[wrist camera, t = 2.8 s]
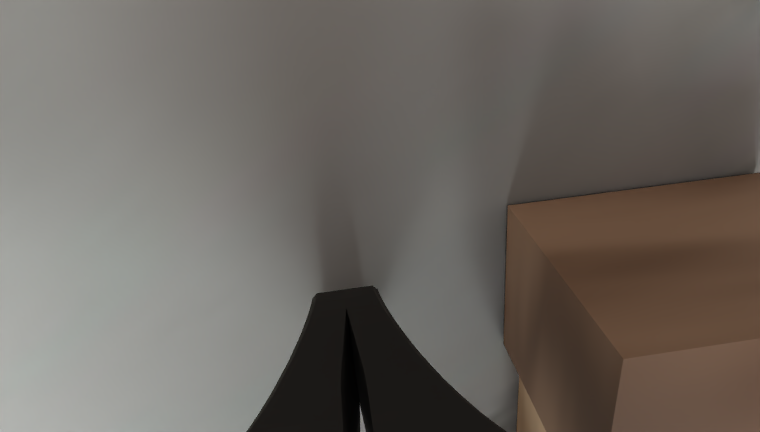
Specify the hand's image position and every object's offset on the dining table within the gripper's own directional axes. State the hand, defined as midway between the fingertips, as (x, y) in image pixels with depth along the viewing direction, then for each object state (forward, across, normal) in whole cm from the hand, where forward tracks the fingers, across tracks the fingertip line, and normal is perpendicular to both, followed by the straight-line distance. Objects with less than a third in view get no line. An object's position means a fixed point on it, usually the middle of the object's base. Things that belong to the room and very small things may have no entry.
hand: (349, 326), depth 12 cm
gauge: (+1, -7, +4) cm, 8 cm away
